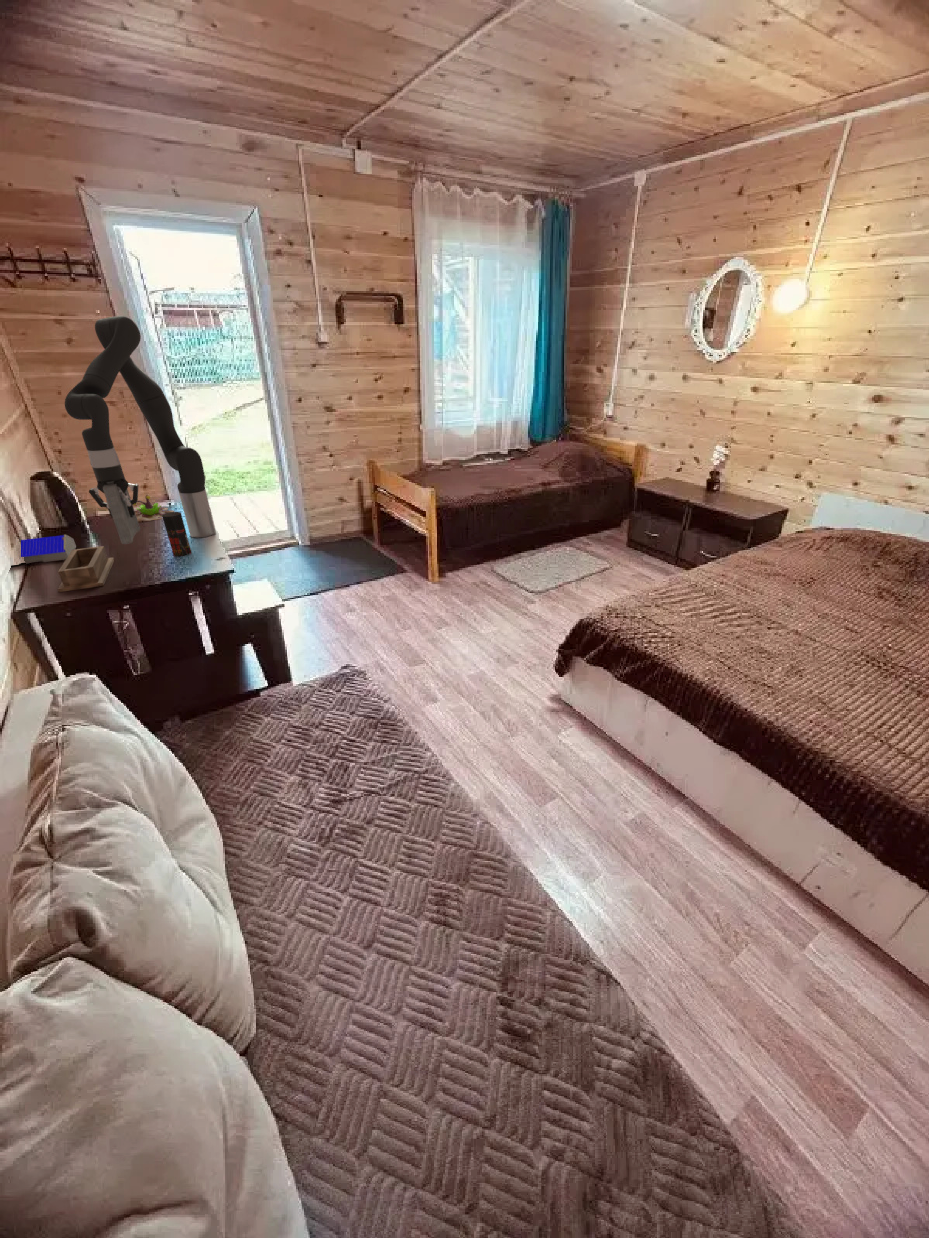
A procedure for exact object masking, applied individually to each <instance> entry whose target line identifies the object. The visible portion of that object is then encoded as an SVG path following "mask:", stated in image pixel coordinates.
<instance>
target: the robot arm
mask: <svg viewBox="0 0 929 1238" xmlns="http://www.w3.org/2000/svg"><path fill="white" fill-rule="evenodd" d="M94 332H95V333H96V337H97V339H98V340H99V342H100V344H101V346H102V348H103V349H104V350H103V351H101V353H100V354H98V355H97V356H95V358H94V359H93V360H92V361H91V362H90V363H89V365H88V366H87V367H86V370H85V373H84V375H83V377H82V379H81V381H79V382H78V383H77V384H76V385H75V386H74V387H72V389H71V390H70V391H69V392H68V393H67V394H66V396H65V399H64V410H65V411H66V413H67V414H68V415H69V416H70V417H71V418H73V419H76V420H80V421H81V420H82V421H87V420H90V421H91V427H89V428H85V429H83V430H82V432H81V435H82V439H83V442H84V444H85V448H86V451H87V455H88V460H89V463H90V466H91V467H92V471H93V474H94V477H95V480H96V483H97V485H96V486H94V487H91V488H90V489H89V490H88V493H89V495H90V496H91V497H92V498H93V499H94V501H95V502H96V503H97V504H98V506H99V507H100V508H106V509H107V510H108V513H109V516H110V517H111V519H113V517H112V514H111V511H110V508H109V505H108V503H107V500H106V499H105V500H106V502H105V501H104V500H103V499H102V497H101V496H100V495H99V494H100V492H101V493H103V494H104V491H103V486H104V485H106V484H107V483H106V482H111V481H114V482H113V483H114V484H117V489H118V492H119V494H120V496H121V497H122V499H123V500H124V501H125V503H126V504H127V508H128V511H129V514H130V517H131V518H132V517H134V515H135V511H136V510H135V507H134V505H133V504H136V505H137V504H138V502H137V501H139V484H138V483H129V482H128V481H127V480H126V478H125V474H124V471H123V468H122V464H121V461H120V460H119V456H118V453H117V451H116V449H115V446H114V444H113V443H114V442H113V440H112V438H111V434H110V412H109V411H110V409H109V406H108V403H107V402H106V401H105V398H107V397H108V396H109V394H110V392H111V390H112V388H113V385H114V383H115V380H116V378H117V377H118V375H119V373H120V375H121V377H122V378H123V380H124V382H125V384H126V386H127V387H128V389H129V390H130V392H131V395H132V396H133V399H134V401H135V402H136V405H137V406H138V408H139V409H140V411H141V413H142V415H143V417H144V419H145V420H146V422H147V424H148V425H149V427H150V428H151V430H152V433H153V434H154V435H155V437H156V439H157V442H158V443H159V445H160V448H161V451H162V453H163V455H164V459H165V460H166V462H167V464H168V465H169V467H171V468H172V469H173V470H175V471H176V472H178V475H179V480H180V481H179V482H178V484H176V485H177V490H178V495H179V498H180V502H181V505H182V509H183V513H184V517H185V521H186V525H187V529H188V532H189V533H188V534H189V535H190V537H192V538H206V537H210V536H214V535H217V532H216V531H217V530H216V526H215V522H214V518H213V514H212V508H211V507H210V503H209V499H208V498H209V497H208V494H207V490H206V485H205V484H206V476H205V471H204V465H203V461H202V458H201V455H200V453H199V452H198V451H197V450H195V449H194V448H193V447H188V446H185V444H184V443H183V442H182V440H181V438H180V436H179V434H178V433H177V431H176V428H175V423H174V416H173V412H172V411H173V410H172V408H171V404H170V403H169V401H168V399H167V397H166V394H165V393H164V391H163V390H162V388H161V386H160V385H159V384H158V383H157V382H156V381H155V380H154V379H152V378H151V377H150V376H149V374H147V373H145V372H144V371H143V370H142V369H141V368H140V367H138V365H137V364H136V363H135V362H134V360H133V359H132V357H131V356H132V354H133V353H134V351H136V350H137V347H139V345H140V343H141V339H142V338H141V331H140V328H139V327H138V325H137V324H136V322H135V321H134V320H133V319H132V318H130V317H128V316H126V315H116V316H111V317H105V318H100V319H97V320H96V322H95V323H94ZM129 488H130V491H131V492H132V499H131V497H130V498H129V497H128V495H127V493H126V490H127V489H129ZM130 499H131V500H130Z"/></svg>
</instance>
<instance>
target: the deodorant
mask: <svg viewBox="0 0 929 1238" xmlns="http://www.w3.org/2000/svg"><path fill="white" fill-rule="evenodd" d="M162 517H163V519H162V520H163V523H164V527H165V531H166V534H167V538H168V540H169V541H168V542H169V545H170V548H171V552H172V554H173V557H176V558H180V557H185V556H189V555H191V554H192V549H191V546H190V542H189V538H188V533H187V532H186V531H187V530H186V527H185V522H184V519H183V516H182V512H181V511H175V512H169V513H165V514H163V515H162Z"/></svg>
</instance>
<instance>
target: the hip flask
mask: <svg viewBox="0 0 929 1238" xmlns="http://www.w3.org/2000/svg"><path fill="white" fill-rule="evenodd" d="M113 482H114V481H111V482H106V483H107V484H106V485H104V486H103V491H104V493H103V494H104V496H105V500H107V501H106V503H108V505H109V508H110V511H111V514H112V517H113V518H112V517H111V518H112V521H114V522H113V523H114V525H115V528H116V531H117V534H118V536H119V537H118V538H119V540H120V543H121V544H122V545H128V544H132V543H133V542H134V537H135V536H136V534H137V533H138V532H140V531H141V527H140V522H138V520H137V517H136V514H135V515H134V517H132V518H131V517H130V514H129V511H128V508H127V504H126V503H125V501H124V500H123V499H122V497H121V496H120V494H119V492H118V489H117V484H114V483H113ZM128 489H129V488H127V490H126V493H127V495H128V497H129V498H130V500H132V499H131V496H130V492H129V490H128Z"/></svg>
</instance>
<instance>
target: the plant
mask: <svg viewBox="0 0 929 1238" xmlns="http://www.w3.org/2000/svg"><path fill="white" fill-rule="evenodd" d="M144 497H145V502H144V501H142V500H138V501H137V503H141V504H140V505H139V506H138V507H139V508H137V507H135V509H136V510H134V511H135V514H136V517H137V520H138V523H143V522H142V521H149V522H152V521H151V520H155V521H160V520H163V519H162V518H158V517H162V515H163V513H164V514H165V513H169V512H176V511H175V510H170V509H169V508H168V507H162V505H159V503H158V502H155V503H154V504H153V505H152V503H151V502H150V499H151V496H150V495H149V494H146V495H145V496H144ZM137 503H136V504H133V506H136V505H137ZM160 508H161V509H160ZM168 509H169V510H168ZM159 510H160V511H159ZM162 510H165V511H162ZM154 514H155V515H154ZM159 519H160V520H159Z"/></svg>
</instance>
